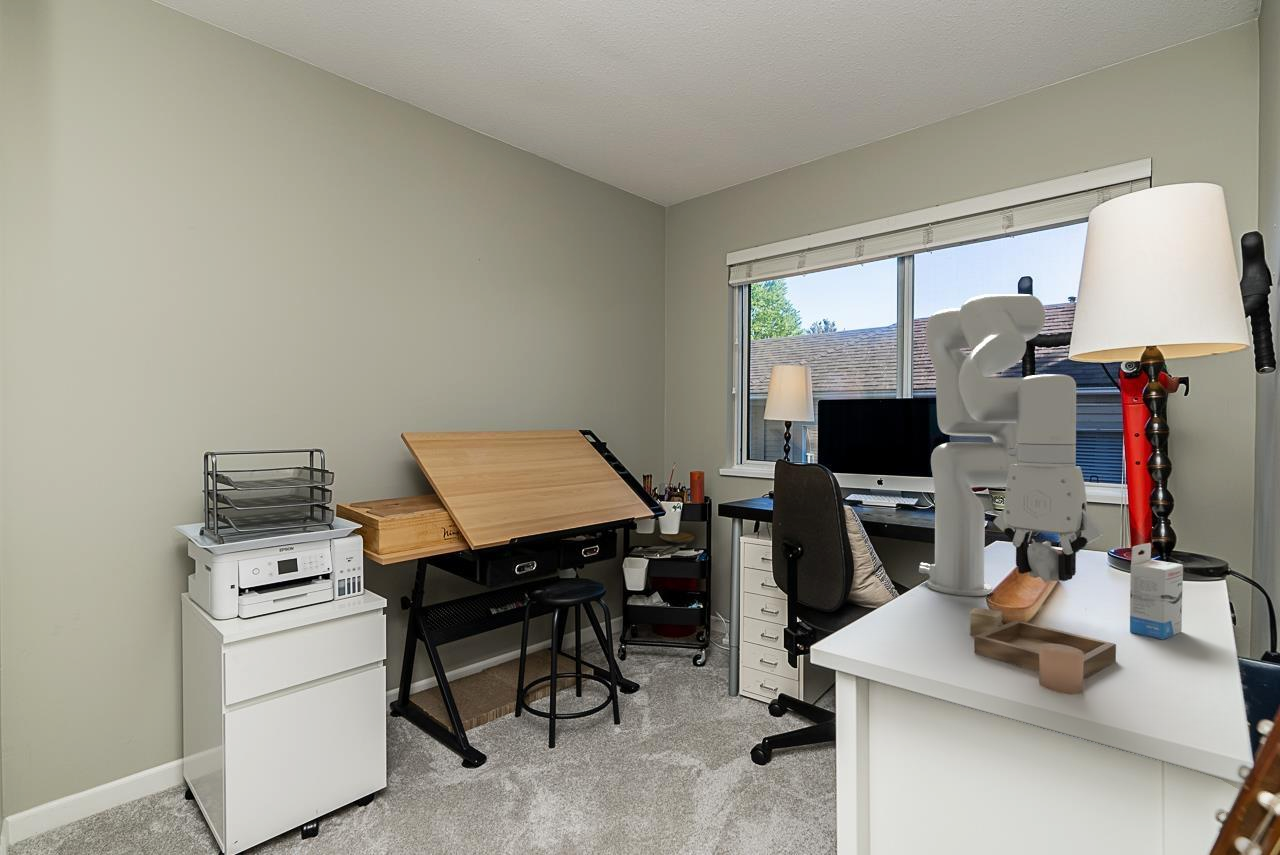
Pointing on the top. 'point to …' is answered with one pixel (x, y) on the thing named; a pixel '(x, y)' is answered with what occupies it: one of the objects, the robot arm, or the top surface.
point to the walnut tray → (1024, 639)
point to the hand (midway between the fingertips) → (1044, 574)
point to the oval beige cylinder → (1061, 668)
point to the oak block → (984, 620)
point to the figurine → (1043, 561)
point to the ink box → (1155, 595)
